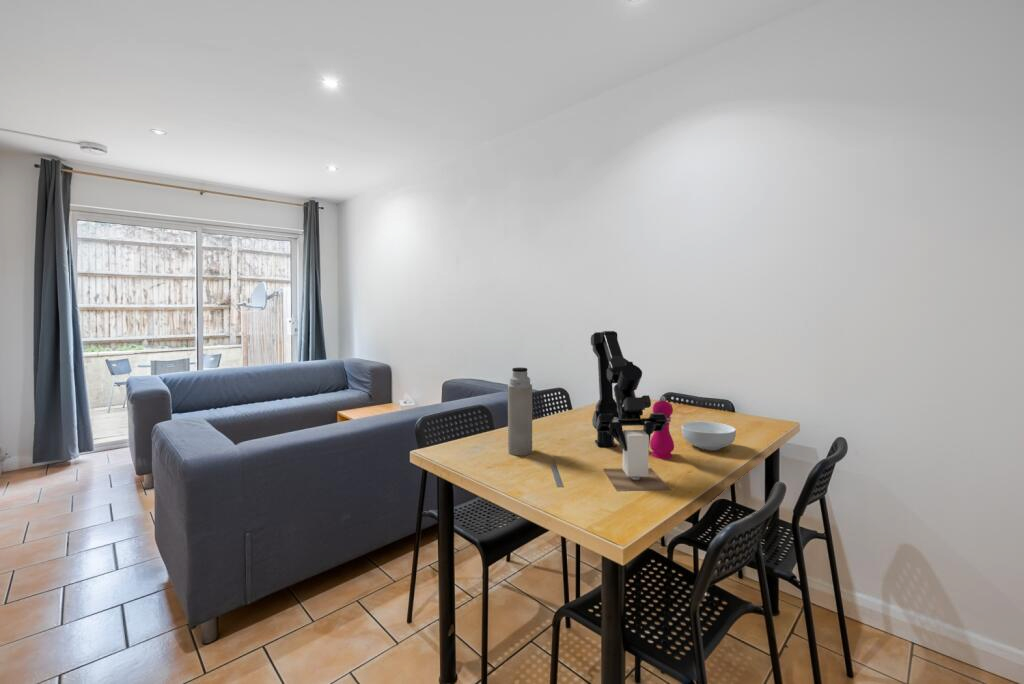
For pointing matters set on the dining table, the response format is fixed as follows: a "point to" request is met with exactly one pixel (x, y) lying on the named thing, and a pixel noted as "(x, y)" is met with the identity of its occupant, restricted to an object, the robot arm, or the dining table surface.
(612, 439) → the robot arm
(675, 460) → the dining table surface
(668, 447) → the pepper mill
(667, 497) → the dining table surface
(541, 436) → the dining table surface
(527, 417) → the thermos bottle
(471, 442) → the dining table surface
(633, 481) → the board
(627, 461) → the cover
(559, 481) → the flat grey strip
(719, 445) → the cereal bowl
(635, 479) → the small grey round piece
